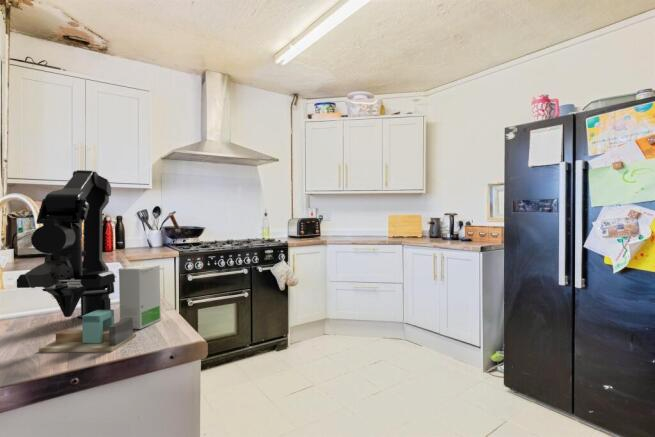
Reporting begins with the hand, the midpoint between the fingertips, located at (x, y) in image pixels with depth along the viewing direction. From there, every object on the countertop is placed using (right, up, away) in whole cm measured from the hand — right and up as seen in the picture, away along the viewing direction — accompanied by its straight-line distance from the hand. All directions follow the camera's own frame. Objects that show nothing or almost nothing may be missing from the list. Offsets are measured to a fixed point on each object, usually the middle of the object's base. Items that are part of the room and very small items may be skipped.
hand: (68, 316), depth 78 cm
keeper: (+7, -5, 0) cm, 9 cm away
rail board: (+5, -6, 0) cm, 8 cm away
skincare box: (+9, -6, +14) cm, 18 cm away
